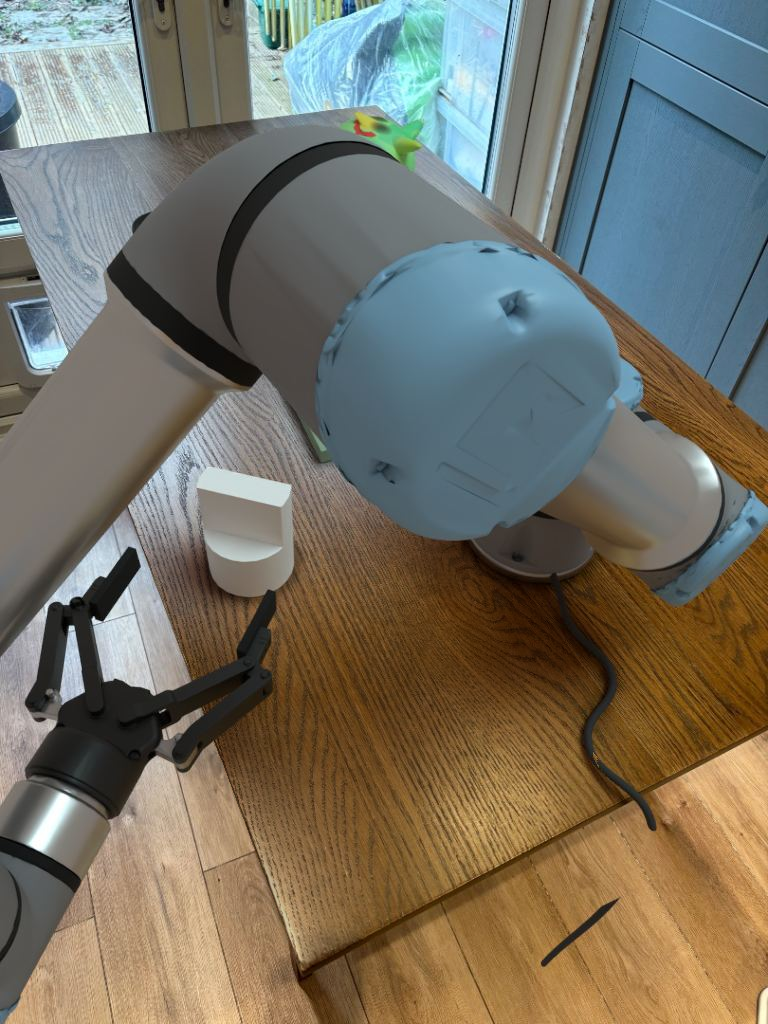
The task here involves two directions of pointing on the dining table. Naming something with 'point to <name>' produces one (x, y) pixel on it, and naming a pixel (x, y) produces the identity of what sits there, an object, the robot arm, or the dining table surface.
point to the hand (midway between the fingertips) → (202, 577)
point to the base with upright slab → (246, 531)
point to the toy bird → (388, 136)
